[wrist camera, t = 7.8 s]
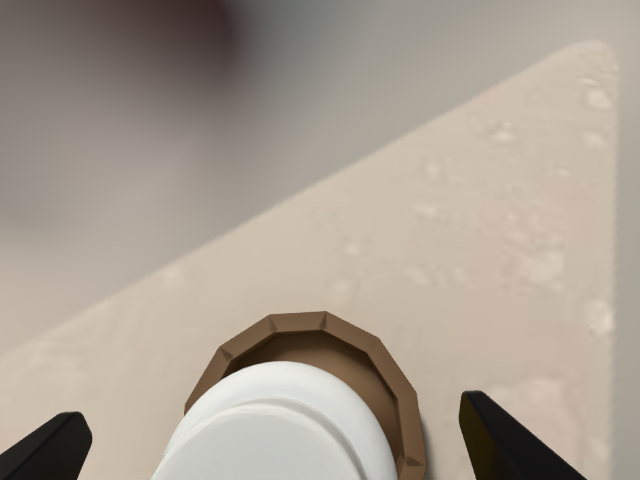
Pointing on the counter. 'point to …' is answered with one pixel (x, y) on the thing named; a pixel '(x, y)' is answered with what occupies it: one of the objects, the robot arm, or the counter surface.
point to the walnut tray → (338, 359)
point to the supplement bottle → (278, 430)
